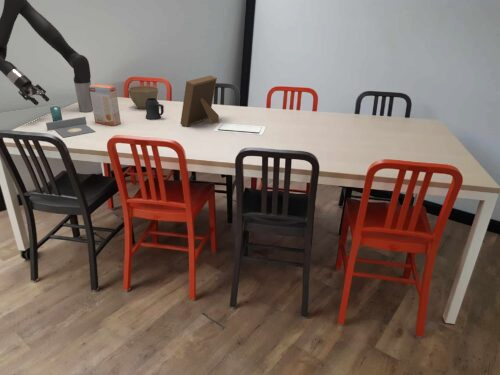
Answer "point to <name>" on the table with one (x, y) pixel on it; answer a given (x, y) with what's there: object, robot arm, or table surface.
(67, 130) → the mat
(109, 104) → the cracker box
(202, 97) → the photo frame
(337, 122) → the table surface
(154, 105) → the mug
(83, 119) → the low wall
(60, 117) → the tin
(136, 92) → the flower pot
